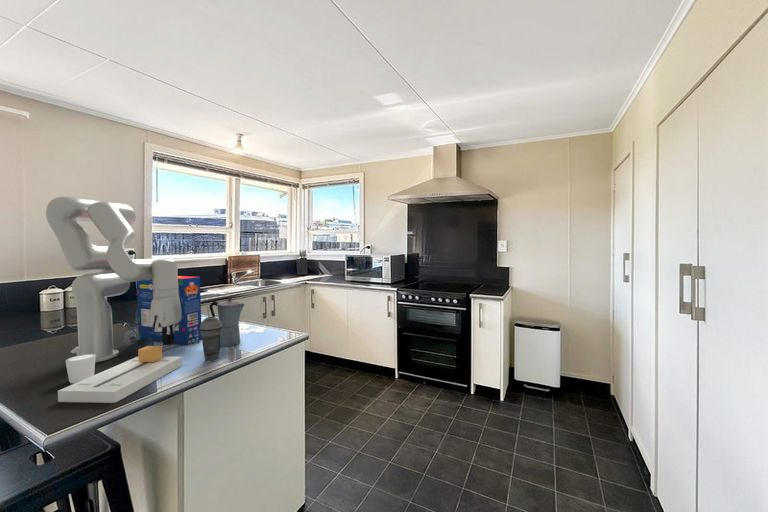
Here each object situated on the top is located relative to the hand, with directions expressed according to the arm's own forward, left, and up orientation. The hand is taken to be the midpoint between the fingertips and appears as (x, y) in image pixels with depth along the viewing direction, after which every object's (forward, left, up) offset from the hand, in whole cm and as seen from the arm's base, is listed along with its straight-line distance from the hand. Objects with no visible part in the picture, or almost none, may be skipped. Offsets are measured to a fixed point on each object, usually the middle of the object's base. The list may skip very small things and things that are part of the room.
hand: (168, 344), depth 115 cm
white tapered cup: (-16, -16, -6) cm, 24 cm away
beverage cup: (+15, +2, -6) cm, 16 cm away
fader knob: (0, -8, -3) cm, 8 cm away
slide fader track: (0, -17, -6) cm, 18 cm away
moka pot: (+11, +20, -6) cm, 24 cm away
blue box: (-18, +25, -6) cm, 32 cm away
